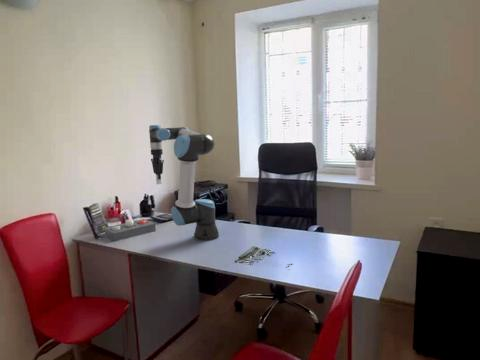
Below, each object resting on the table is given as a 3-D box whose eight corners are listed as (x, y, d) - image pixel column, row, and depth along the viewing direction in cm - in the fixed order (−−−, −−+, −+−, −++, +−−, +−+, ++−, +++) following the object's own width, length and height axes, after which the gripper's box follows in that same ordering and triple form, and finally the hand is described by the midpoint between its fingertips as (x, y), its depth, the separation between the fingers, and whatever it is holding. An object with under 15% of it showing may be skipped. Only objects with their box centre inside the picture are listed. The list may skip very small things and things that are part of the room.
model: (290, 272, 177) (290, 269, 177) (234, 262, 191) (234, 259, 190) (304, 256, 196) (304, 253, 195) (252, 248, 209) (252, 246, 209)
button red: (148, 227, 248) (147, 220, 247) (141, 229, 245) (140, 222, 244) (144, 225, 252) (143, 219, 251) (137, 227, 249) (137, 221, 248)
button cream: (135, 227, 242) (134, 220, 241) (127, 228, 239) (127, 222, 238) (131, 225, 246) (131, 219, 245) (124, 227, 242) (123, 220, 242)
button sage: (122, 233, 237) (121, 226, 236) (114, 235, 233) (113, 228, 232) (118, 232, 240) (118, 225, 239) (111, 233, 237) (110, 227, 236)
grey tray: (155, 230, 246) (155, 223, 245) (114, 241, 228) (113, 233, 227) (144, 226, 258) (143, 218, 257) (104, 235, 240) (103, 228, 239)
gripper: (166, 148, 244) (168, 184, 248) (156, 147, 254) (158, 182, 258) (156, 149, 239) (158, 186, 243) (146, 148, 249) (149, 183, 253)
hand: (158, 184), depth 251 cm, fingers closed
